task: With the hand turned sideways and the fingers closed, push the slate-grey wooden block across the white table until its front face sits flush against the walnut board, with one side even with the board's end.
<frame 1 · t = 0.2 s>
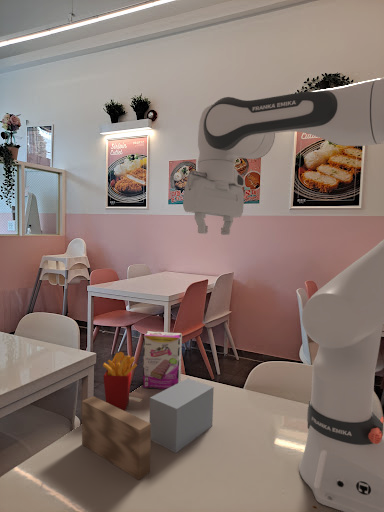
hand: (214, 234, 87), 47 cm above the table, tool pointing down, fingers open, 8 cm apart
french fries: (122, 406, 98), on the table
candy bar box: (161, 386, 111), on the table
walnut board: (114, 457, 76), on the table
slate block: (181, 432, 86), on the table
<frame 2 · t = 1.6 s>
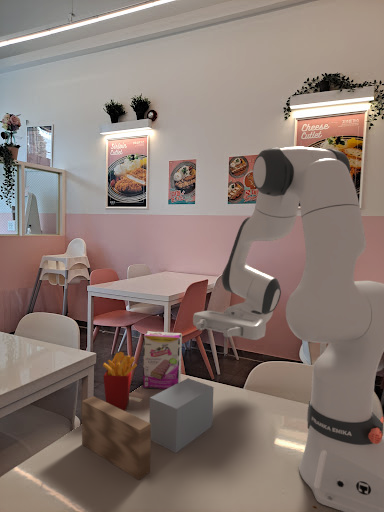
hand: (211, 330, 94), 22 cm above the table, tool horizontal, fingers open, 7 cm apart
nothing on the table moved.
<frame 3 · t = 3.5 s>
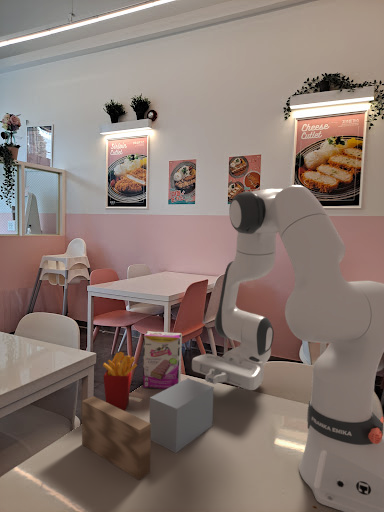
hand: (209, 379, 95), 9 cm above the table, tool horizontal, fingers closed
nothing on the table moved.
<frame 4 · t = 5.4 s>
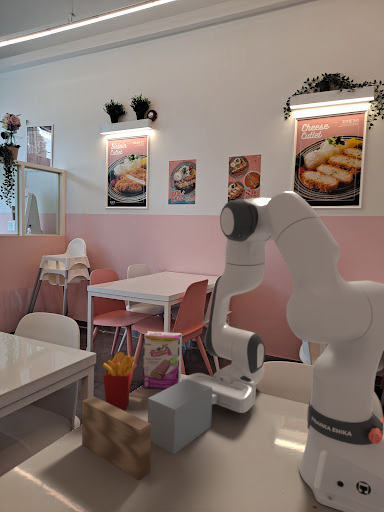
hand: (198, 402, 91), 5 cm above the table, tool horizontal, fingers closed, pressing on slate block
slate block: (180, 433, 86), on the table, touching gripper
everything else where it was.
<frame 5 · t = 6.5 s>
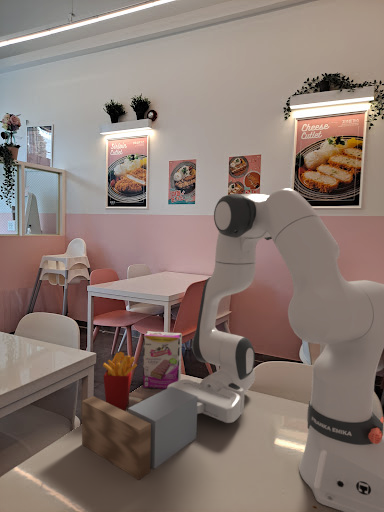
hand: (183, 411, 86), 5 cm above the table, tool horizontal, fingers closed, pressing on slate block
slate block: (163, 445, 81), on the table, touching gripper
everything else where it was.
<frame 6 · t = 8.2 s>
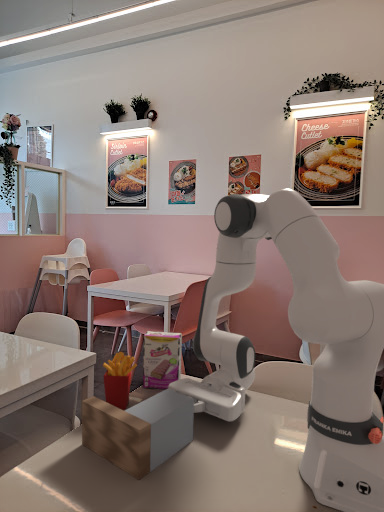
hand: (184, 409, 87), 5 cm above the table, tool horizontal, fingers closed
slate block: (159, 448, 80), on the table
everything else where it was.
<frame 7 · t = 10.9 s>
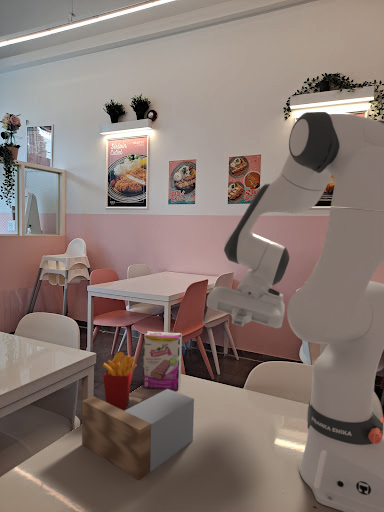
hand: (237, 322, 88), 26 cm above the table, tool tilted 70°, fingers closed
nothing on the table moved.
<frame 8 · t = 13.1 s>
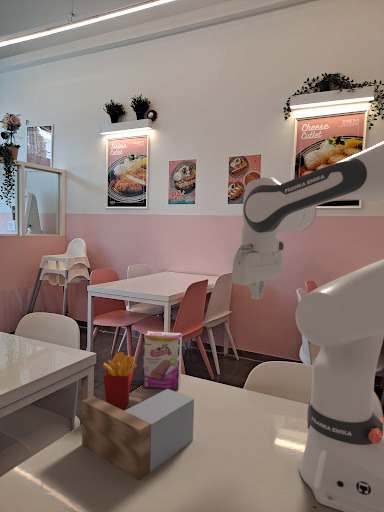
hand: (257, 298, 92), 31 cm above the table, tool pointing down, fingers closed
nothing on the table moved.
at the end: slate block 0.3 cm from the target spot on the table beside the walnut board, on the table; slate block tilted 0° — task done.
